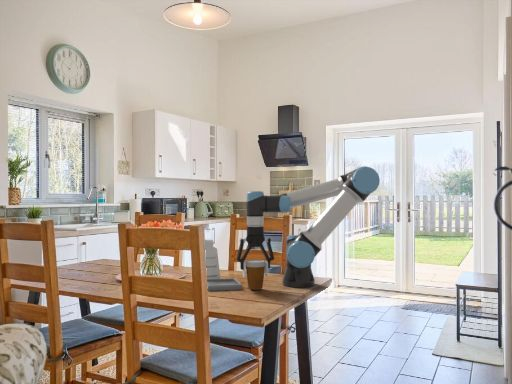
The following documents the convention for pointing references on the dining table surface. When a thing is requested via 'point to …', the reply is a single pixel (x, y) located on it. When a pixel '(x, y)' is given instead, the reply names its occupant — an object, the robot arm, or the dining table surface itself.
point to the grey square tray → (223, 284)
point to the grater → (211, 260)
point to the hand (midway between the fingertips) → (255, 276)
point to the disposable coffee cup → (255, 273)
